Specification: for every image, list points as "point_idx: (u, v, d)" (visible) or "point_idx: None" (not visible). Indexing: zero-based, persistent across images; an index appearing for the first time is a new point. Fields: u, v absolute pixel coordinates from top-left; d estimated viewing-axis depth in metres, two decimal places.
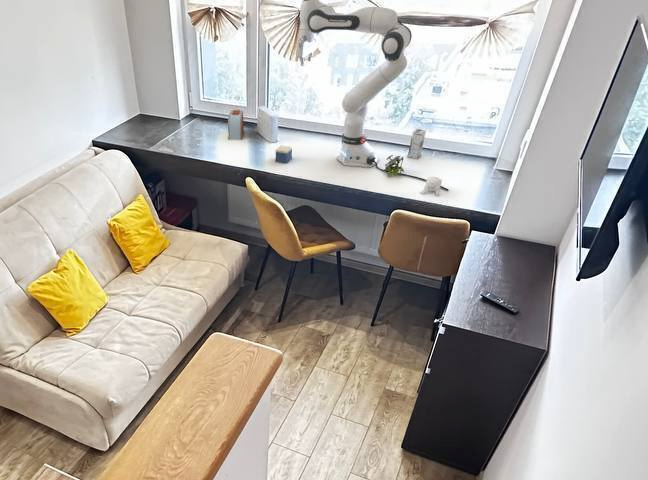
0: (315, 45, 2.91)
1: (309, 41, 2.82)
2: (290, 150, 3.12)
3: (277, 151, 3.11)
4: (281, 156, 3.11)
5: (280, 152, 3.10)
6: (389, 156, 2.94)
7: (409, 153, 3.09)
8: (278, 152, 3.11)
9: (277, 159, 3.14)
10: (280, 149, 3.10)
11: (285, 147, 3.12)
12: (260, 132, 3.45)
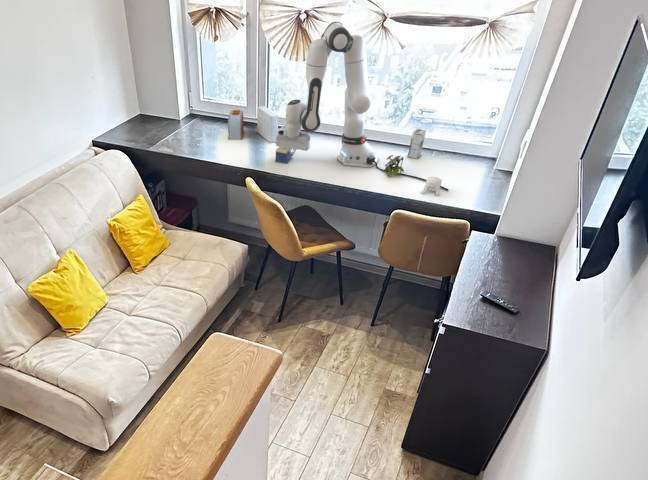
0: None
1: None
2: None
3: (277, 151, 3.11)
4: (281, 156, 3.11)
5: (280, 152, 3.10)
6: (389, 156, 2.94)
7: (409, 153, 3.09)
8: (278, 152, 3.11)
9: (277, 159, 3.14)
10: (280, 149, 3.10)
11: (285, 147, 3.12)
12: (260, 132, 3.45)
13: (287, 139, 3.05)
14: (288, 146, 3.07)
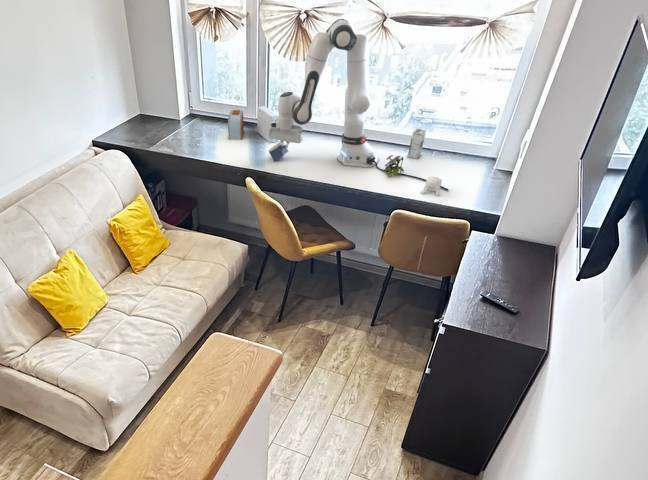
0: None
1: None
2: None
3: (270, 151, 3.13)
4: (276, 153, 3.12)
5: (273, 149, 3.11)
6: (389, 156, 2.94)
7: (409, 153, 3.09)
8: (271, 151, 3.12)
9: (274, 158, 3.14)
10: (272, 147, 3.12)
11: (276, 144, 3.14)
12: (260, 132, 3.45)
13: (280, 132, 3.05)
14: (281, 139, 3.07)
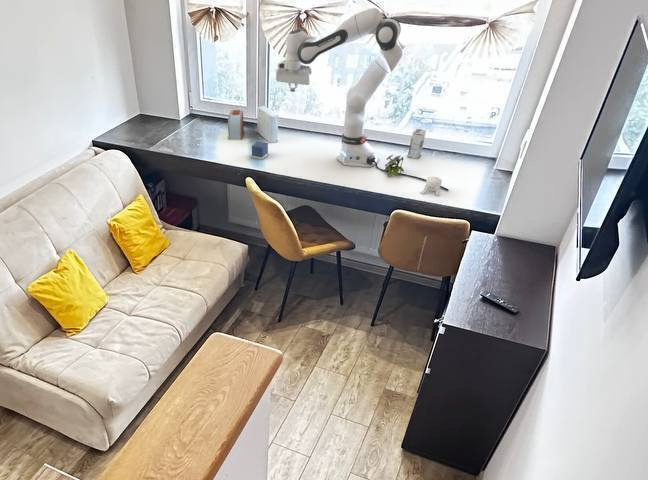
0: None
1: None
2: None
3: (260, 157, 3.18)
4: (256, 152, 3.17)
5: (257, 156, 3.19)
6: (389, 156, 2.94)
7: (409, 153, 3.09)
8: (259, 156, 3.18)
9: (260, 149, 3.15)
10: None
11: None
12: (260, 132, 3.45)
13: (288, 73, 2.95)
14: (289, 81, 2.97)
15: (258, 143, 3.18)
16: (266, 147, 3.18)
